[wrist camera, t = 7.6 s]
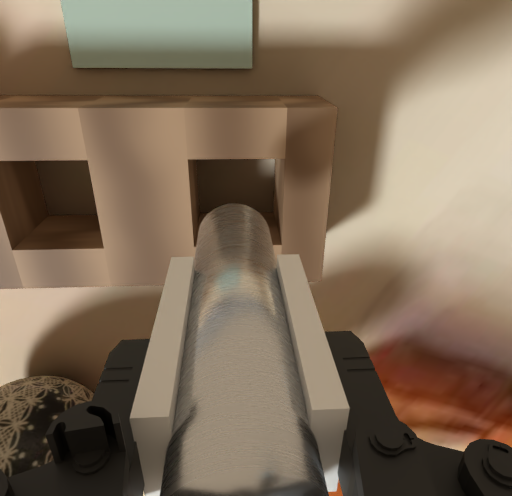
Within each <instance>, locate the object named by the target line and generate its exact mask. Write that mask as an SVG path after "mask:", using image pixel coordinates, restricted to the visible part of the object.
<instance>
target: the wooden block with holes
mask: <svg viewBox="0 0 512 496" xmlns="http://www.w3.org/2000/svg"><path fill="white" fill-rule="evenodd" d="M337 112H338V108H337V107H336V106H334V105H333V104H331V103H329V102H328V101H326V100H324V99H323V98H321V97H320V96H124V95H0V289H18V288H60V287H102V286H143V285H164V284H165V280H166V277H167V273H168V269H169V265H170V261H171V257H194V259H195V252H196V245H197V238H198V232H199V227H200V224H201V222H202V221H203V219H204V218H205V216H206V215H207V214H208V213H200V206H199V190H198V174H197V159H275V176H274V211H273V212H259V213H260V214H261V215H262V216H263V217H264V219H265V220H266V222H267V224H268V227H269V231H270V235H271V240H272V244H273V249H274V253H275V258H276V262H277V255H287V254H299V257H300V260H301V263H302V266H303V269H304V272H305V275H306V278H307V281H308V282H311V281H321V279H322V269H323V258H324V248H325V238H326V227H327V217H328V206H329V196H330V185H331V175H332V164H333V154H334V143H335V133H336V122H337ZM44 160H88V166H89V171H90V176H91V182H92V187H93V192H94V198H95V203H96V208H97V214H98V215H49V216H48V212H47V208H46V203H45V199H44V195H43V191H42V187H41V183H40V179H39V175H38V171H37V167H36V163H35V161H44Z"/></svg>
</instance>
